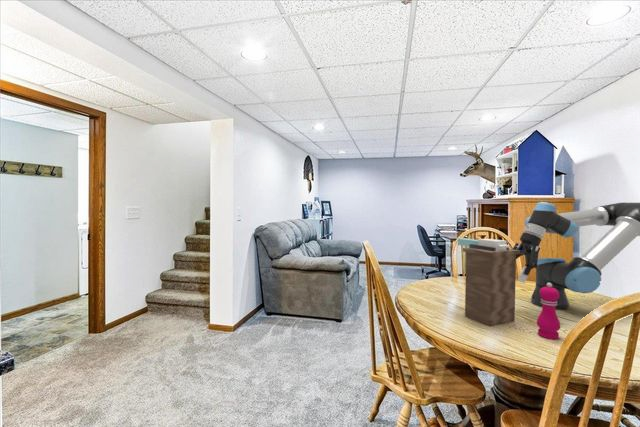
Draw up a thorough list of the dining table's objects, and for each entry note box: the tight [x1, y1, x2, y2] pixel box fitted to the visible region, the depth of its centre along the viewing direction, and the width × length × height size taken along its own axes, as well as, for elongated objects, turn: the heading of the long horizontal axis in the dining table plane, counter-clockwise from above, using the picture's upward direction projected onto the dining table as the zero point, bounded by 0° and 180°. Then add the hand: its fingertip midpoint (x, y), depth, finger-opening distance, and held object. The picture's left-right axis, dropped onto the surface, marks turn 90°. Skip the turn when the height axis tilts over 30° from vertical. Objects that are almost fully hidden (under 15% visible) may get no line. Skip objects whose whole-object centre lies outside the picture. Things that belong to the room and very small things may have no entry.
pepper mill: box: [536, 283, 561, 340], centre depth 118 cm, size 7×7×20 cm
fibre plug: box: [457, 237, 510, 251], centre depth 139 cm, size 6×23×4 cm, turn 23°
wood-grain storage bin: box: [462, 244, 520, 327], centre depth 135 cm, size 17×14×32 cm
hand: (511, 278), depth 140 cm, fingers open, 13 cm apart
